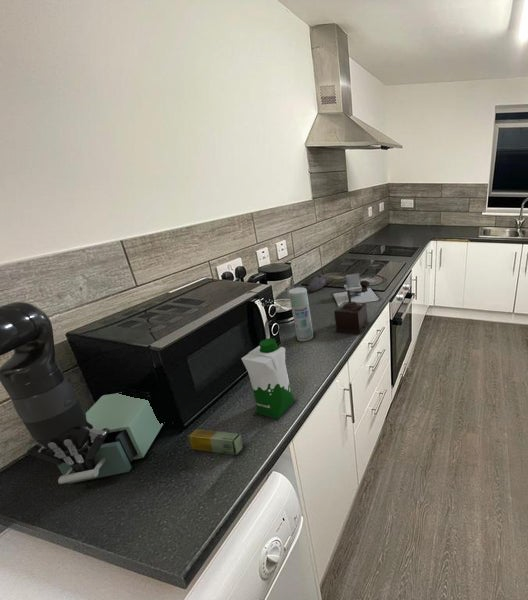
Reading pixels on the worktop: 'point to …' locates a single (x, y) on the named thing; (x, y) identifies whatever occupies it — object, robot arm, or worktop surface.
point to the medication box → (216, 441)
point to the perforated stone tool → (316, 283)
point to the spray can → (301, 313)
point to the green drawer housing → (126, 419)
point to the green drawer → (104, 459)
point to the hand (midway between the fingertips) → (87, 472)
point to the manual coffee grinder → (352, 313)
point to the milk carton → (269, 378)
